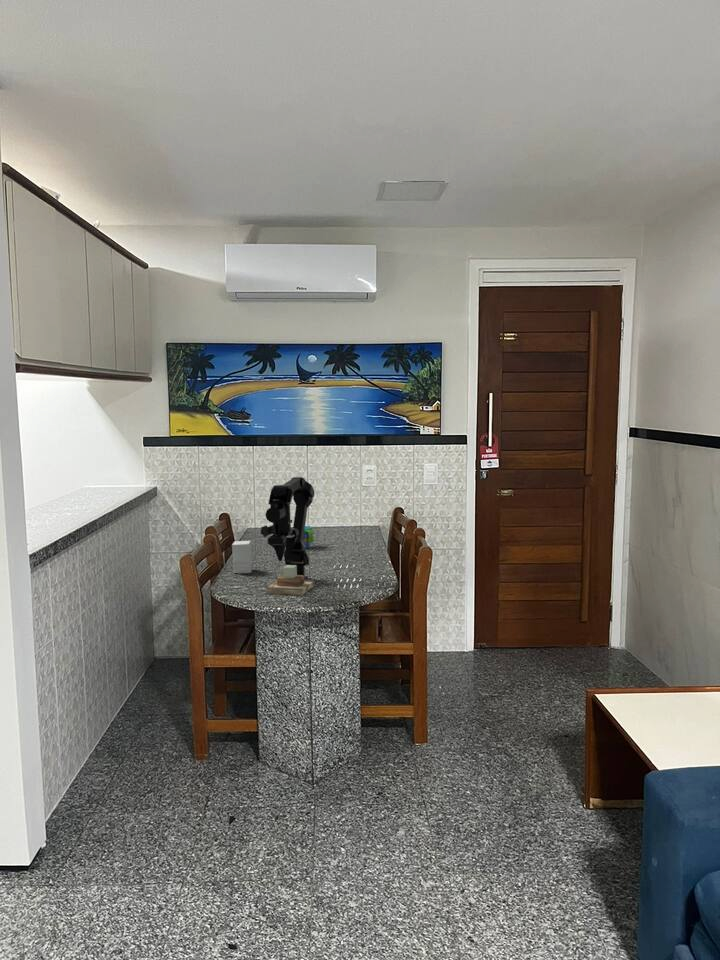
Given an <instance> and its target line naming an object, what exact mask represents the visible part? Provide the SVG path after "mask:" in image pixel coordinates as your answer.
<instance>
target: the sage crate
mask: <svg viewBox="0 0 720 960" xmlns="http://www.w3.org/2000/svg"><path fill="white" fill-rule="evenodd" d="M283 574H284V578H295V577H296V576H297V565H286V564H285V566H284V567H283Z"/></svg>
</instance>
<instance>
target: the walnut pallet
mask: <svg viewBox="0 0 720 960" xmlns="http://www.w3.org/2000/svg"><path fill="white" fill-rule="evenodd" d="M276 581H277V586H293V587H300V585H302V584H304V575H297V576H296V577H295V578H284V573H283V574H281V575H279V576H277V577H276Z"/></svg>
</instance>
